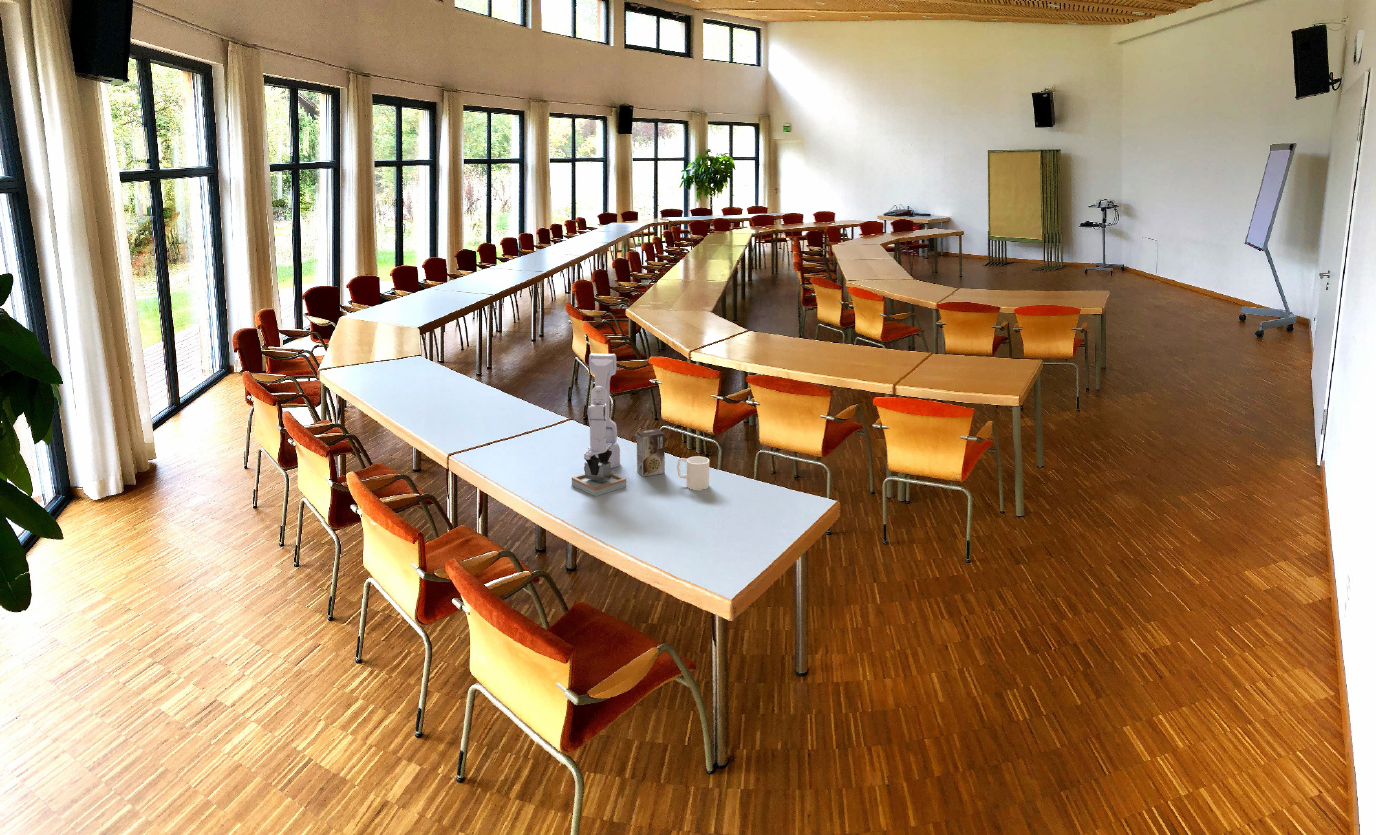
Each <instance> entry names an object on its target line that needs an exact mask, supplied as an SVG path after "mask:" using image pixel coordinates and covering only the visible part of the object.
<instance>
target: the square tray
mask: <svg viewBox="0 0 1376 835" xmlns="http://www.w3.org/2000/svg"><path fill="white" fill-rule="evenodd" d="M571 486H573V487H574V488H577V489H579V490H581V491H584V492H586V493H588V494H590V495H592V496H593V497H597V496H600V495H603V494H608V493H610V492H614V491H616V490H620V489H623V488H626V487H627V478H625V477H623V476H621V475H618V474H616V473H613V472H612V471H611V478H610V479H608V480H606V481H605V482H600V481H595V480H591V479H586V478H585V473H583V474H580V475H576V476H573V477H571Z"/></svg>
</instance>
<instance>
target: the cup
mask: <svg viewBox="0 0 1376 835" xmlns="http://www.w3.org/2000/svg"><path fill="white" fill-rule="evenodd" d="M677 460H678V461H677V465H676V469H677V474H678V477H679V479H680V478H681V479H686V488H687V487H688V488H687V489H689V488H690V489H689V490H691V489H693V490H692V491H703V490H702V489H705V488H707V489H708V488H709V487H710V459H709V458H708V457H705V456H698V455H697V456H691V457H688V458H684V457H681V458H678V459H677ZM681 461H683V462H685V463H686V474H681V470H680V469H681V468H680V467H681V466H680V465H681ZM708 486H709V487H708ZM705 490H706V489H705Z"/></svg>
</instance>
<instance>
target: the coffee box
mask: <svg viewBox="0 0 1376 835" xmlns="http://www.w3.org/2000/svg"><path fill="white" fill-rule="evenodd" d="M665 453H666V451H665V433H664V432H663V431H662V430H661V429H659V428H652V429H645V430H640V431H639V430H638V431H636V471H637V473H638V474H639V475H641V477H643V478H644V477H645V478H646V477H649V476H655V475H660V474H661V475H662V474H666V471H665V470H666V468H665V465H666V462H665V461H666V460H665V459H666V458H665Z"/></svg>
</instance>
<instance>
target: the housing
mask: <svg viewBox="0 0 1376 835" xmlns="http://www.w3.org/2000/svg"><path fill="white" fill-rule="evenodd" d="M583 470H584V474H585V478H586V479H591V480H595V481H600V482H605V481H606V480H608V479H610V478H611V472H612V468H611V462H607V461H602V460H600V461H599V464H598V473H597V475H596V476H595V475H591V471H590V468H589V465H588V463H587V461H585V462H584V467H583Z"/></svg>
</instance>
